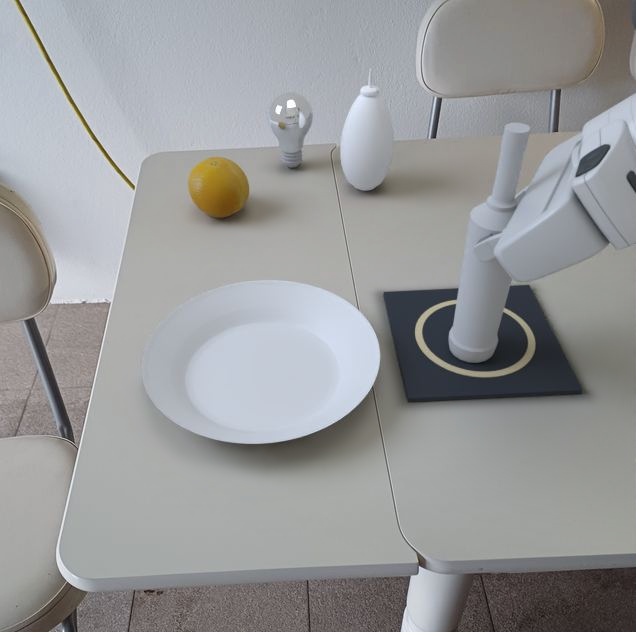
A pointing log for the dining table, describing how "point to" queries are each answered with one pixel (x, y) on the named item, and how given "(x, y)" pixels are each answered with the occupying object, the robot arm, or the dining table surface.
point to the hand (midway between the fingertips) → (488, 235)
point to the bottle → (488, 277)
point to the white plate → (260, 361)
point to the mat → (484, 377)
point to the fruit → (218, 187)
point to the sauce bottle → (367, 140)
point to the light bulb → (290, 125)
